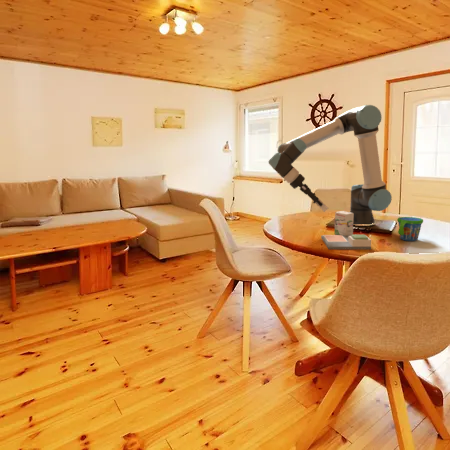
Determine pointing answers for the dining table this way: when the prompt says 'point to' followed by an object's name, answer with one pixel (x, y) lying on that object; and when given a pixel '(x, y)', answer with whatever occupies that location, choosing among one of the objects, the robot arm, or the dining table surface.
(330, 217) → the dining table surface
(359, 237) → the button
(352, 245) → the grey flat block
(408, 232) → the snack cup
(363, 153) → the robot arm
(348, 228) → the ink box
